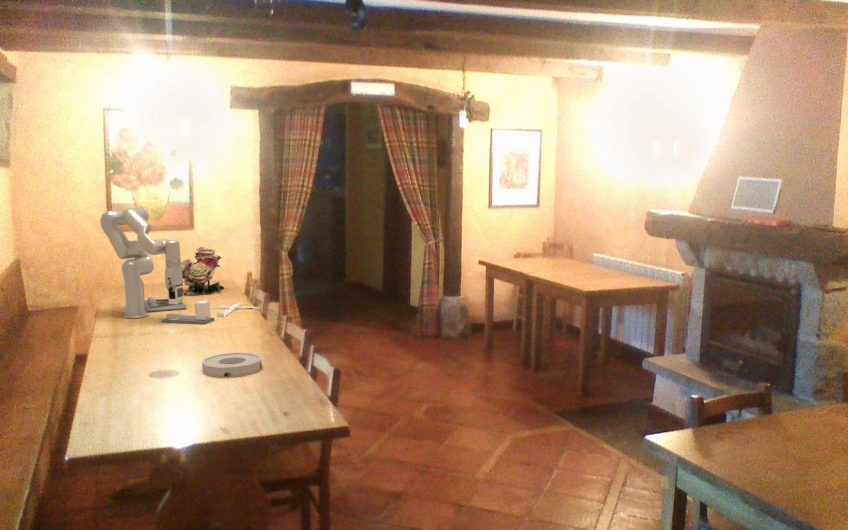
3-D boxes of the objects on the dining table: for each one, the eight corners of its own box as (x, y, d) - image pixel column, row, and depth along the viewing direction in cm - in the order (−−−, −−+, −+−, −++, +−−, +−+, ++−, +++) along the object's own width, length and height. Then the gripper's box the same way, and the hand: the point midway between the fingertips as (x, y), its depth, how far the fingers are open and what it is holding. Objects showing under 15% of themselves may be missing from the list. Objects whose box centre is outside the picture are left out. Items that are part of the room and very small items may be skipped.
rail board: (161, 322, 379) (160, 302, 378) (172, 318, 389) (171, 298, 387) (204, 324, 374) (203, 304, 372) (214, 320, 383) (213, 300, 382)
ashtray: (239, 358, 308) (238, 349, 307) (273, 368, 293) (273, 358, 292) (191, 370, 290) (190, 360, 290) (225, 381, 275) (224, 371, 275)
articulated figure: (196, 312, 392) (217, 300, 422) (196, 319, 393) (217, 306, 422) (244, 313, 389) (262, 300, 419) (245, 320, 390) (262, 307, 420)
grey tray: (186, 310, 414) (186, 298, 413) (146, 313, 405) (146, 301, 404) (181, 301, 441) (180, 290, 440) (143, 304, 432) (142, 292, 431)
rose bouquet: (178, 290, 476) (176, 245, 472) (224, 288, 485) (222, 244, 481) (177, 297, 452) (175, 250, 448) (226, 294, 461) (224, 248, 457)
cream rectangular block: (168, 304, 379) (167, 287, 378) (174, 302, 384) (173, 285, 383) (178, 304, 378) (177, 287, 377) (184, 302, 383) (183, 285, 382)
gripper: (176, 261, 388) (178, 295, 390) (157, 265, 371) (160, 300, 373) (188, 261, 386) (190, 295, 388) (170, 266, 369) (173, 300, 372)
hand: (175, 297), depth 381 cm, fingers closed on cream rectangular block, 5 cm apart
